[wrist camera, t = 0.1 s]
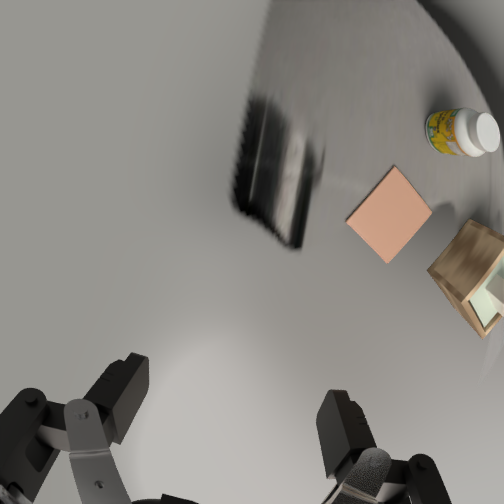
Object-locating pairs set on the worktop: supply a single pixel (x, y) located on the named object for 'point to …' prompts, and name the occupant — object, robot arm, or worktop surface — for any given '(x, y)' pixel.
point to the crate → (468, 269)
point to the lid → (490, 295)
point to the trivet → (390, 215)
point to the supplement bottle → (462, 132)
